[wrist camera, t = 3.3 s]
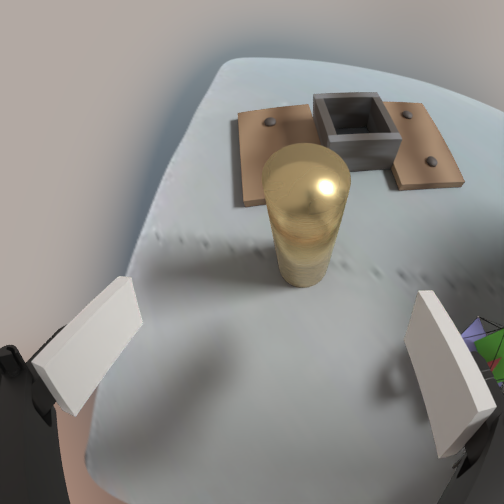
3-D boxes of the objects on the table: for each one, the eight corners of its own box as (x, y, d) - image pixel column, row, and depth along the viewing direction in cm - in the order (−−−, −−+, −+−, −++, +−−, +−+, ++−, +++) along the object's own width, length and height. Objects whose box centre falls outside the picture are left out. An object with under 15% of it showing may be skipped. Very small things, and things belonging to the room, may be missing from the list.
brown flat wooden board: (420, 108, 28) (428, 82, 24) (461, 187, 24) (478, 161, 19) (239, 119, 31) (231, 89, 26) (245, 207, 26) (235, 178, 22)
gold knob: (323, 238, 24) (338, 139, 13) (330, 284, 22) (360, 209, 11) (276, 244, 24) (258, 148, 13) (281, 290, 23) (265, 220, 12)
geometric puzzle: (498, 296, 17) (512, 308, 11) (522, 361, 15) (538, 396, 9) (434, 337, 21) (421, 364, 15) (458, 398, 19) (450, 442, 13)
